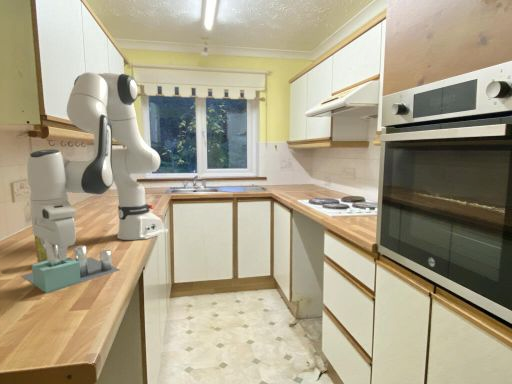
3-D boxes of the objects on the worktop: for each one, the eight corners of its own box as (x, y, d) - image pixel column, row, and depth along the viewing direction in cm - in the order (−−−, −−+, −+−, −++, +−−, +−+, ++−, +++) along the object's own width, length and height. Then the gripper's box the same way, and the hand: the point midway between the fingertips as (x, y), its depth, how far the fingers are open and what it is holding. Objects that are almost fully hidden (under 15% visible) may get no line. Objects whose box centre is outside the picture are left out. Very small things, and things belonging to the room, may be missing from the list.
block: (67, 274, 99) (65, 255, 98) (80, 281, 94) (79, 262, 93) (33, 284, 92) (31, 264, 91) (46, 292, 87) (43, 271, 86)
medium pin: (85, 272, 101) (83, 244, 99) (90, 275, 99) (88, 246, 97) (74, 276, 98) (72, 247, 97) (79, 278, 96) (76, 249, 95)
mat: (90, 258, 115) (90, 257, 115) (120, 271, 103) (120, 269, 103) (21, 277, 99) (20, 275, 98) (47, 295, 86) (46, 293, 86)
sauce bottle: (62, 265, 109) (57, 207, 106) (41, 270, 105) (35, 210, 102) (56, 260, 113) (51, 205, 111) (35, 265, 109) (29, 207, 106)
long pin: (49, 283, 93) (42, 236, 91) (61, 279, 95) (54, 233, 93) (53, 286, 91) (46, 238, 89) (66, 282, 93) (59, 235, 91)
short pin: (108, 266, 105) (107, 249, 105) (113, 269, 103) (112, 250, 103) (99, 269, 103) (97, 251, 102) (104, 272, 101) (102, 253, 100)
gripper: (23, 206, 94) (28, 252, 96) (52, 214, 81) (57, 267, 83) (48, 203, 99) (52, 246, 101) (78, 210, 86) (82, 260, 88)
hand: (54, 256), depth 92 cm, fingers open, 8 cm apart
